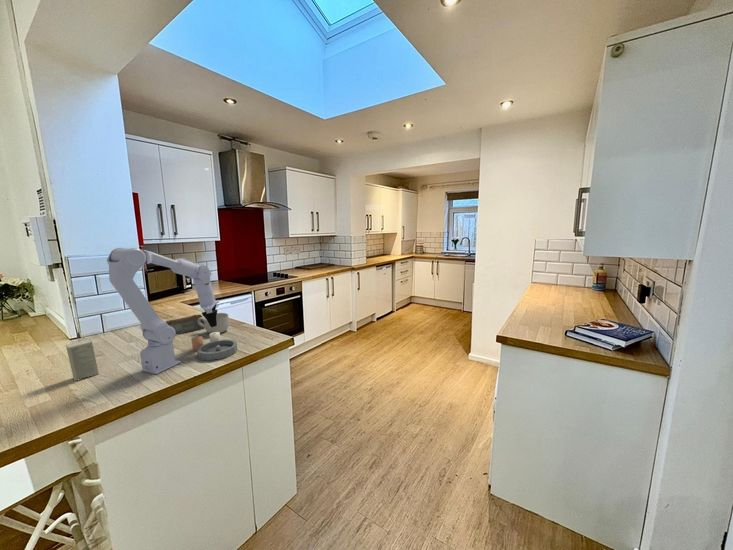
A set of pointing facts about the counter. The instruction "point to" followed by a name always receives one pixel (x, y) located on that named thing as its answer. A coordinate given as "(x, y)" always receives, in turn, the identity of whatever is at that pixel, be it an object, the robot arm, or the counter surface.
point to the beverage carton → (186, 324)
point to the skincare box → (82, 359)
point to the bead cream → (214, 336)
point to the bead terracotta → (197, 342)
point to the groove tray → (220, 354)
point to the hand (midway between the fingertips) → (213, 323)
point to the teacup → (221, 323)
